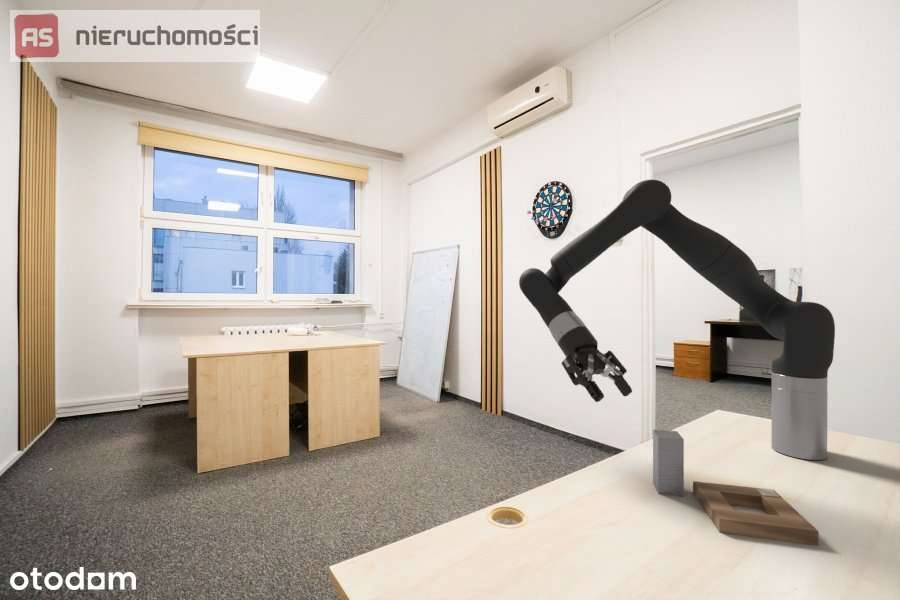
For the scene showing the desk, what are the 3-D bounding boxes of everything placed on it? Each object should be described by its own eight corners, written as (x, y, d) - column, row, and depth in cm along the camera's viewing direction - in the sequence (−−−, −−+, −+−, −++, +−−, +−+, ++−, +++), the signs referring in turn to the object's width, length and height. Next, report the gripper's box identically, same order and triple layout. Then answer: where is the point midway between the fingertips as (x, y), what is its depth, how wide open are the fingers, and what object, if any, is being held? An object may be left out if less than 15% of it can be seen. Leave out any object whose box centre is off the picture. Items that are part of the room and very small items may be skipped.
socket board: (693, 492, 70) (693, 480, 70) (773, 501, 66) (773, 489, 66) (719, 531, 58) (719, 517, 58) (818, 545, 55) (818, 530, 55)
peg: (653, 483, 73) (652, 429, 73) (677, 485, 72) (677, 431, 72) (658, 493, 69) (658, 437, 69) (683, 496, 68) (683, 439, 68)
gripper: (557, 326, 84) (601, 391, 74) (602, 323, 91) (649, 382, 81) (540, 348, 89) (580, 411, 79) (584, 343, 96) (626, 401, 86)
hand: (615, 396), depth 80 cm, fingers open, 8 cm apart
